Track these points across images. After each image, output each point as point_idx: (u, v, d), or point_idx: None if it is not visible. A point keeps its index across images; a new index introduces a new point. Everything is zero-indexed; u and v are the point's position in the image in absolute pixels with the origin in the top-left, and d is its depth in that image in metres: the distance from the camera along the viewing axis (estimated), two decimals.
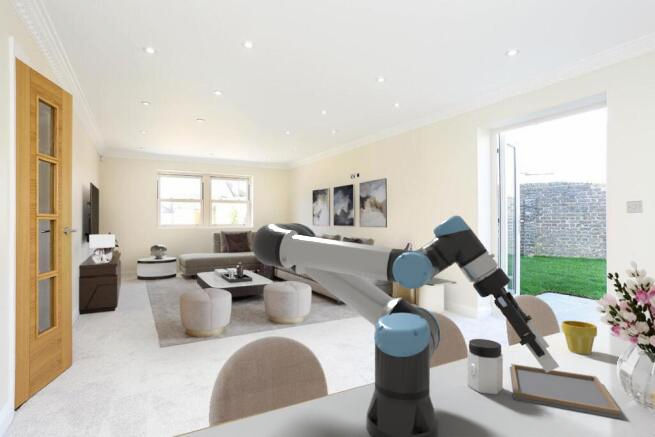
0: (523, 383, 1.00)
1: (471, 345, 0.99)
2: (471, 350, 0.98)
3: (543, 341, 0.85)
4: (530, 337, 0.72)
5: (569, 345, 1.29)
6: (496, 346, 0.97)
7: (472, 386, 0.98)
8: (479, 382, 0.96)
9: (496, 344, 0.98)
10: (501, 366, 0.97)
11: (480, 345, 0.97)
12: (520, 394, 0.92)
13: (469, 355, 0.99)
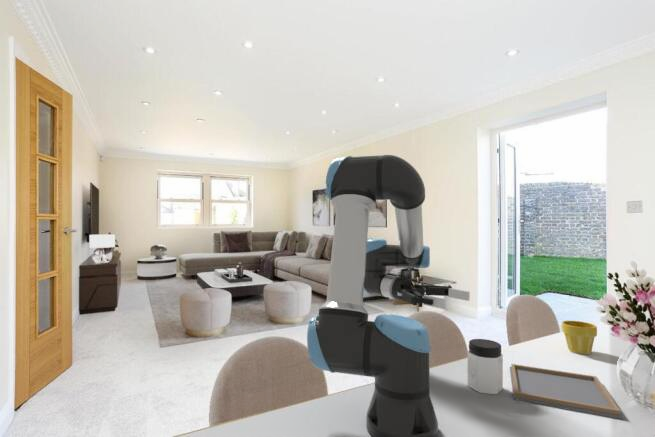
0: (523, 383, 1.00)
1: (471, 345, 0.99)
2: (471, 350, 0.98)
3: None
4: None
5: (569, 345, 1.29)
6: (496, 346, 0.97)
7: (472, 386, 0.98)
8: (479, 382, 0.96)
9: (496, 344, 0.98)
10: (501, 366, 0.97)
11: (480, 345, 0.97)
12: (520, 394, 0.92)
13: (469, 355, 0.99)
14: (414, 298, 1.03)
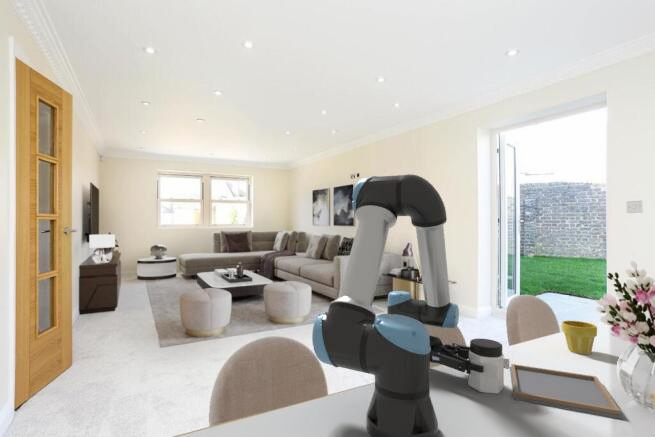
0: (523, 383, 1.00)
1: (472, 345, 0.99)
2: (472, 350, 0.99)
3: None
4: None
5: (569, 345, 1.29)
6: (497, 346, 0.97)
7: (473, 386, 0.98)
8: (480, 382, 0.96)
9: (497, 344, 0.99)
10: (502, 365, 0.98)
11: (481, 345, 0.97)
12: (520, 394, 0.92)
13: (470, 355, 0.99)
14: (463, 364, 0.96)
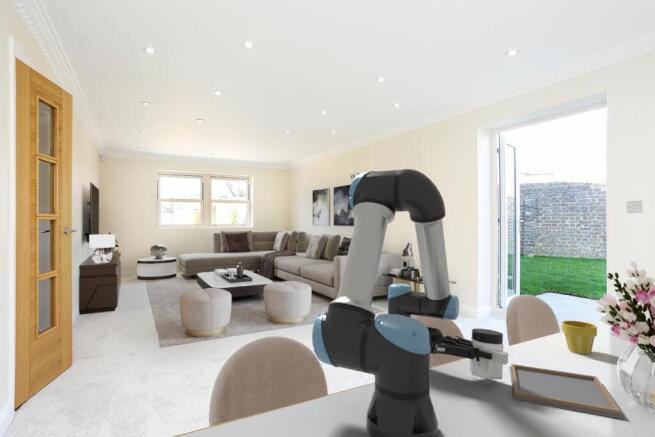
0: (523, 383, 1.00)
1: (479, 333, 1.01)
2: (479, 338, 1.01)
3: None
4: None
5: (569, 345, 1.29)
6: (499, 333, 1.02)
7: (479, 374, 1.00)
8: (489, 369, 0.98)
9: (496, 332, 1.04)
10: None
11: (488, 333, 1.01)
12: (520, 394, 0.92)
13: (476, 344, 1.01)
14: (473, 352, 0.98)
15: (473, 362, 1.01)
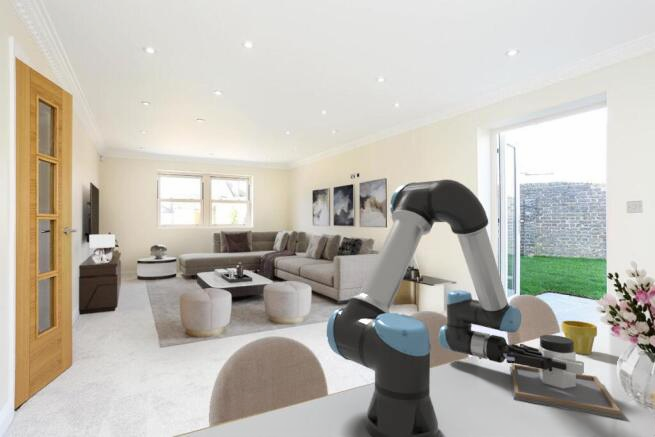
0: (523, 383, 1.00)
1: (550, 343, 0.99)
2: (550, 348, 0.99)
3: None
4: None
5: None
6: (570, 340, 1.00)
7: (552, 383, 0.99)
8: (563, 378, 0.97)
9: (565, 338, 1.02)
10: None
11: (559, 342, 0.99)
12: (520, 394, 0.92)
13: (547, 353, 1.00)
14: (546, 362, 0.96)
15: (545, 371, 1.00)
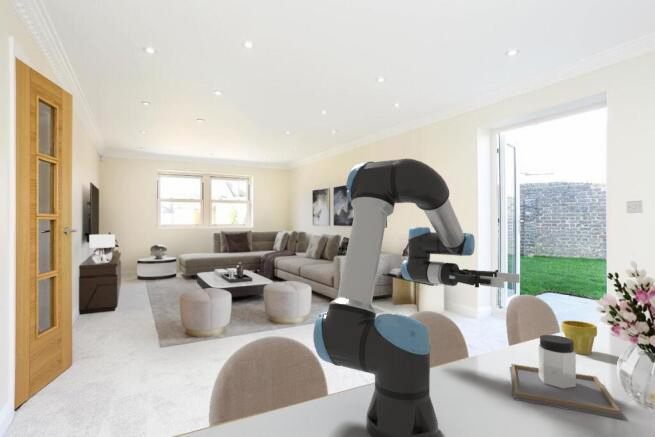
0: (523, 383, 1.00)
1: (550, 343, 0.99)
2: (550, 348, 0.99)
3: None
4: None
5: None
6: (570, 340, 1.00)
7: (552, 383, 0.99)
8: (563, 378, 0.97)
9: (565, 338, 1.02)
10: None
11: (559, 341, 0.99)
12: (520, 394, 0.92)
13: (547, 353, 1.00)
14: (472, 278, 1.06)
15: (545, 371, 1.00)
